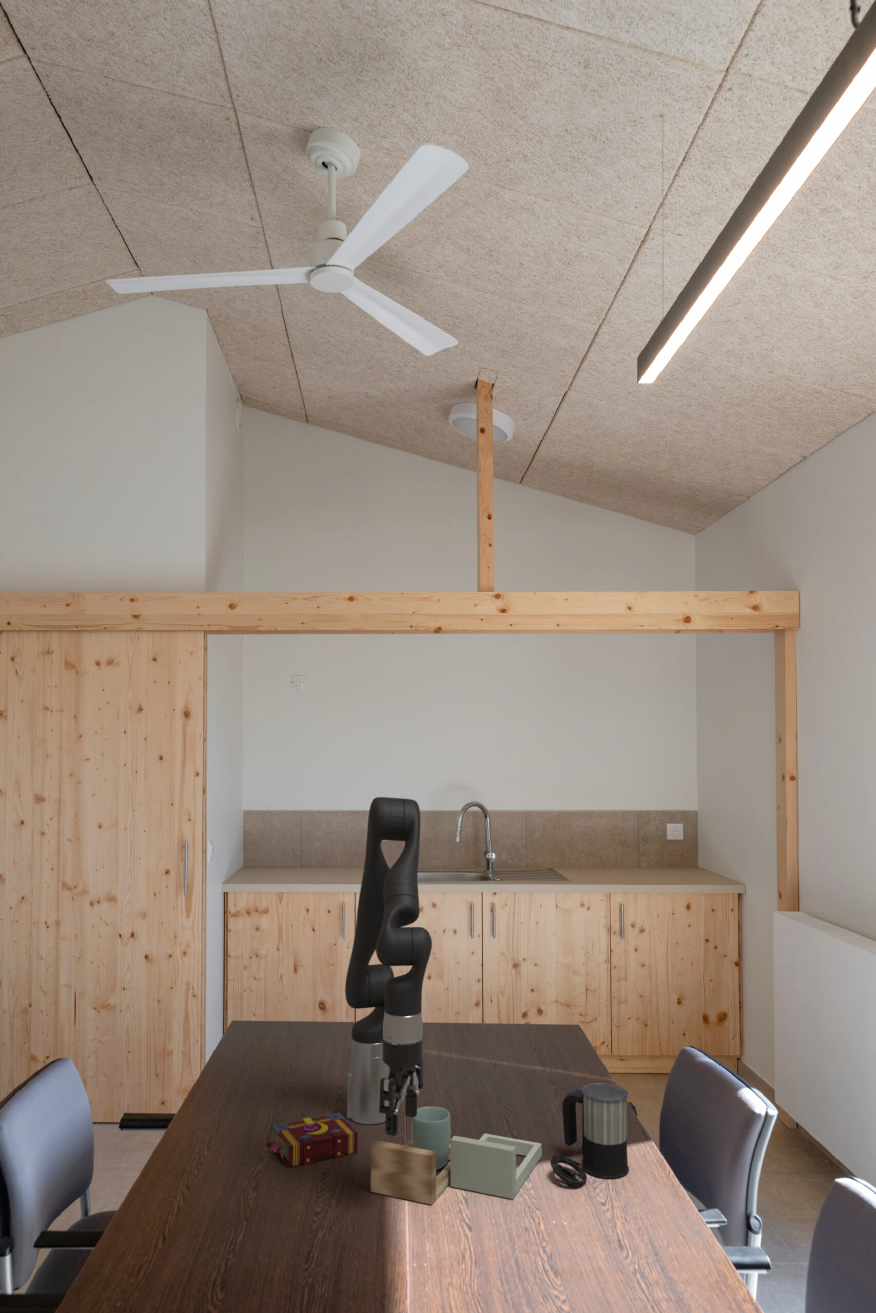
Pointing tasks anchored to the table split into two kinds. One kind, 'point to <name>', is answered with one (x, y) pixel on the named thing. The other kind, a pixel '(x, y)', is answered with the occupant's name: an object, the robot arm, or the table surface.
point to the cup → (432, 1132)
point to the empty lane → (492, 1164)
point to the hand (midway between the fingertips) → (401, 1125)
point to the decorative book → (314, 1139)
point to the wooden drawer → (407, 1172)
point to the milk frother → (595, 1133)
